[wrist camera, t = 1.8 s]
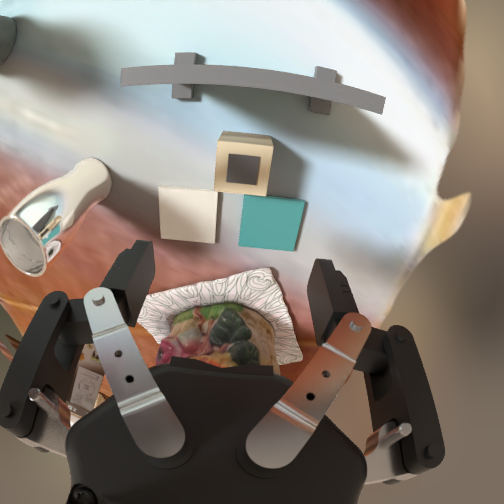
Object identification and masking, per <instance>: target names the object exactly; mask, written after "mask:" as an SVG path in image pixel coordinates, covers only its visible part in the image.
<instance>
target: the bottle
mask: <svg viewBox="0 0 504 504" xmlns="http://www.w3.org/2000/svg"><path fill="white" fill-rule="evenodd" d="M16 32H17V27H16V23H15V21H14V20H13V19H11V18H9V17H6V16H0V65H2V64H3V63H4V61H5V60H6V59H7V57H8V56H9V54H10V52H11V50H12V48H13V45H14V42H15V39H16Z"/></svg>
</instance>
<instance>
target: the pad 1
mask: <svg viewBox="0 0 504 504" xmlns="http://www.w3.org/2000/svg"><path fill="white" fill-rule="evenodd" d="M158 192H159V214H160V230H161V238H162V239H172V240H183V241H193V242H203V243H213V244H215V236H216V218H217V203H218V191H214V190H209V189H197V188H183V187H168V186H159V188H158Z"/></svg>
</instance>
